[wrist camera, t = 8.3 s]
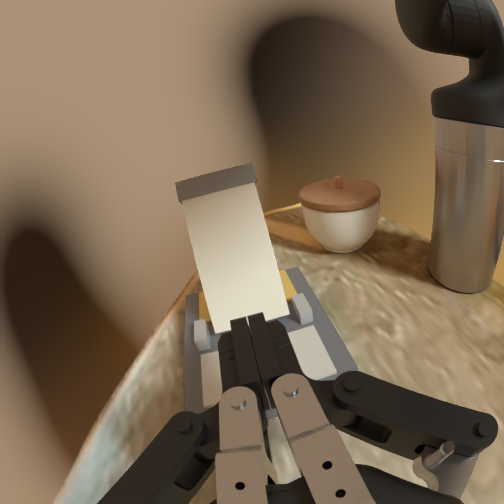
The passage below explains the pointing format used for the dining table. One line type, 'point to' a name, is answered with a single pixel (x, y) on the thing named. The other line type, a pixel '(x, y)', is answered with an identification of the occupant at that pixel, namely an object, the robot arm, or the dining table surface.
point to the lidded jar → (341, 212)
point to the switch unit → (206, 341)
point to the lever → (232, 246)
